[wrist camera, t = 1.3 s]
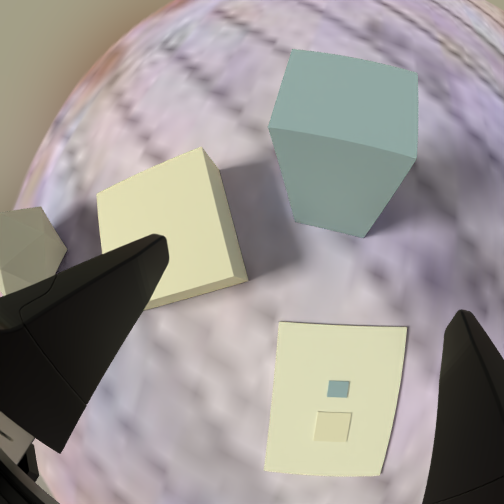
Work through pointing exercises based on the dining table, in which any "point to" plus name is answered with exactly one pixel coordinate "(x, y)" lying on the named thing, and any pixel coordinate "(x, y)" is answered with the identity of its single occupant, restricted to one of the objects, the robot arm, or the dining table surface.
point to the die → (27, 249)
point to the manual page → (333, 398)
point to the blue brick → (343, 137)
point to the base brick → (177, 225)
